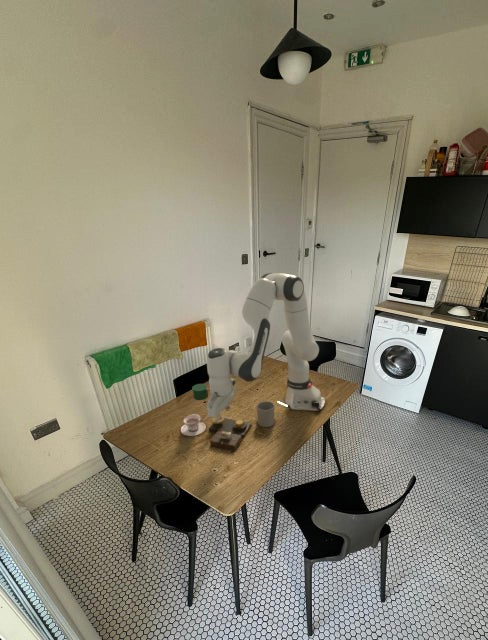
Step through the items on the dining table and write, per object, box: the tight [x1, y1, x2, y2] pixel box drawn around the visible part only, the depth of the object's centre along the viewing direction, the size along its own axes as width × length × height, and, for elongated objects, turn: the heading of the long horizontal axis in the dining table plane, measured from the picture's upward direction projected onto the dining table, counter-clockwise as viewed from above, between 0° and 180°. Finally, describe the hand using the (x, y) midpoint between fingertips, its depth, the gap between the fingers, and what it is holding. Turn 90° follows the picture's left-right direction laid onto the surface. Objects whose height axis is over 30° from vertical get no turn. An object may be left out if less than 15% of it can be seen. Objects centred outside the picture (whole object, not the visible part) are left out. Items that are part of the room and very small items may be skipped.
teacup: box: [180, 413, 207, 437], centre depth 155 cm, size 12×12×6 cm
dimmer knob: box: [220, 431, 232, 440], centre depth 146 cm, size 5×2×3 cm, turn 73°
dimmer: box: [209, 431, 243, 452], centre depth 147 cm, size 12×9×3 cm
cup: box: [256, 400, 275, 428], centre depth 160 cm, size 8×8×10 cm
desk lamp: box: [191, 383, 225, 424], centre depth 154 cm, size 14×7×17 cm, turn 74°
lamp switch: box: [236, 419, 244, 427], centre depth 154 cm, size 4×4×2 cm
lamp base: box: [208, 417, 252, 439], centre depth 157 cm, size 18×10×4 cm, turn 74°
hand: (223, 415), depth 140 cm, fingers open, 7 cm apart
